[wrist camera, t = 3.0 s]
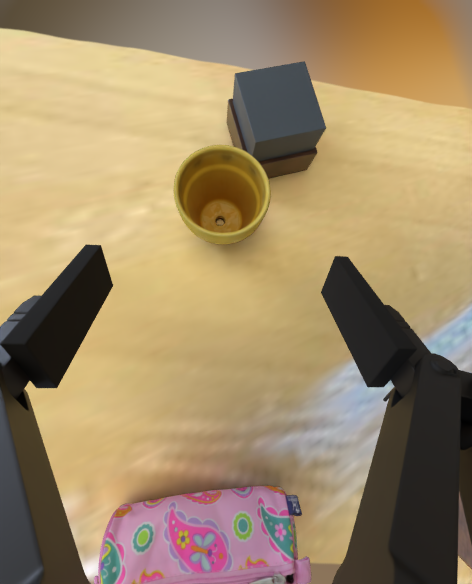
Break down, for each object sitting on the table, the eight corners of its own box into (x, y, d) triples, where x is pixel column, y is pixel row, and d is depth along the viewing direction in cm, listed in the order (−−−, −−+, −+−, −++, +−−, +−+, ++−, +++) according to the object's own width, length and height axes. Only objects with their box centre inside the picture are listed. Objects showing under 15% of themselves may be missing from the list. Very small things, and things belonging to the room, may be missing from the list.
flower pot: (220, 273, 35) (222, 257, 25) (169, 221, 35) (152, 185, 25) (270, 225, 36) (290, 192, 26) (221, 175, 36) (224, 124, 27)
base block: (288, 110, 38) (296, 86, 34) (306, 169, 38) (317, 152, 34) (226, 122, 37) (228, 99, 33) (244, 183, 36) (248, 167, 32)
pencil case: (286, 469, 33) (312, 526, 24) (288, 542, 32) (317, 629, 23) (122, 481, 31) (85, 548, 22) (121, 560, 31) (82, 662, 22)
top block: (294, 90, 34) (305, 60, 30) (313, 150, 34) (326, 127, 30) (232, 102, 33) (234, 73, 29) (250, 163, 33) (255, 142, 29)
